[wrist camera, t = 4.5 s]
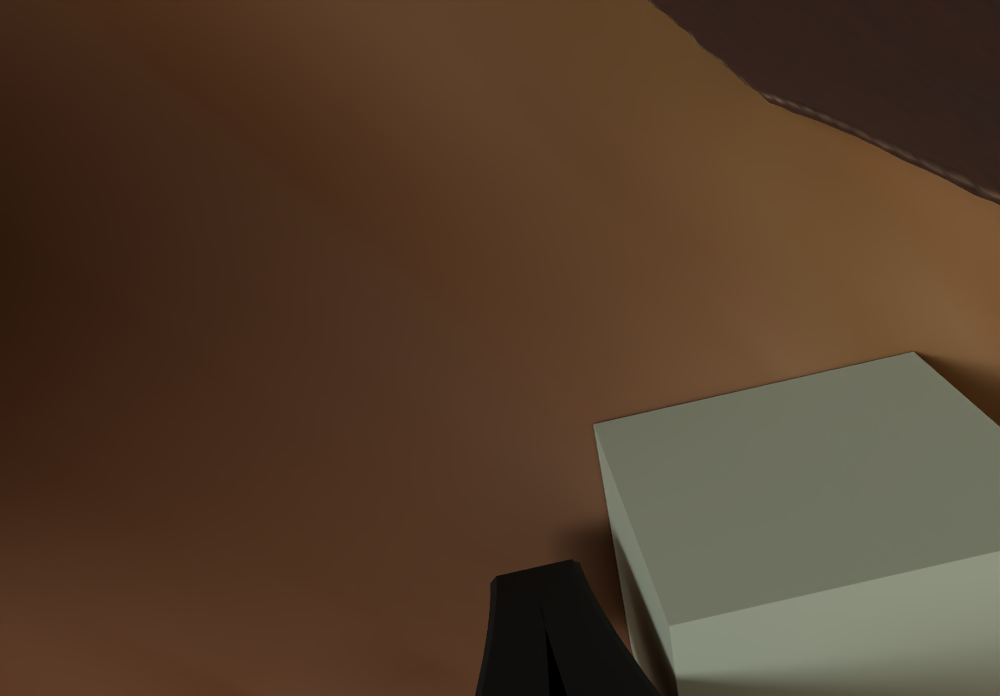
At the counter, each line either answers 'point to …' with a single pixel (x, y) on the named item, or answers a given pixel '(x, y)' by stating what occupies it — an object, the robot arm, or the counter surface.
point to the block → (811, 537)
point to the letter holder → (872, 72)
